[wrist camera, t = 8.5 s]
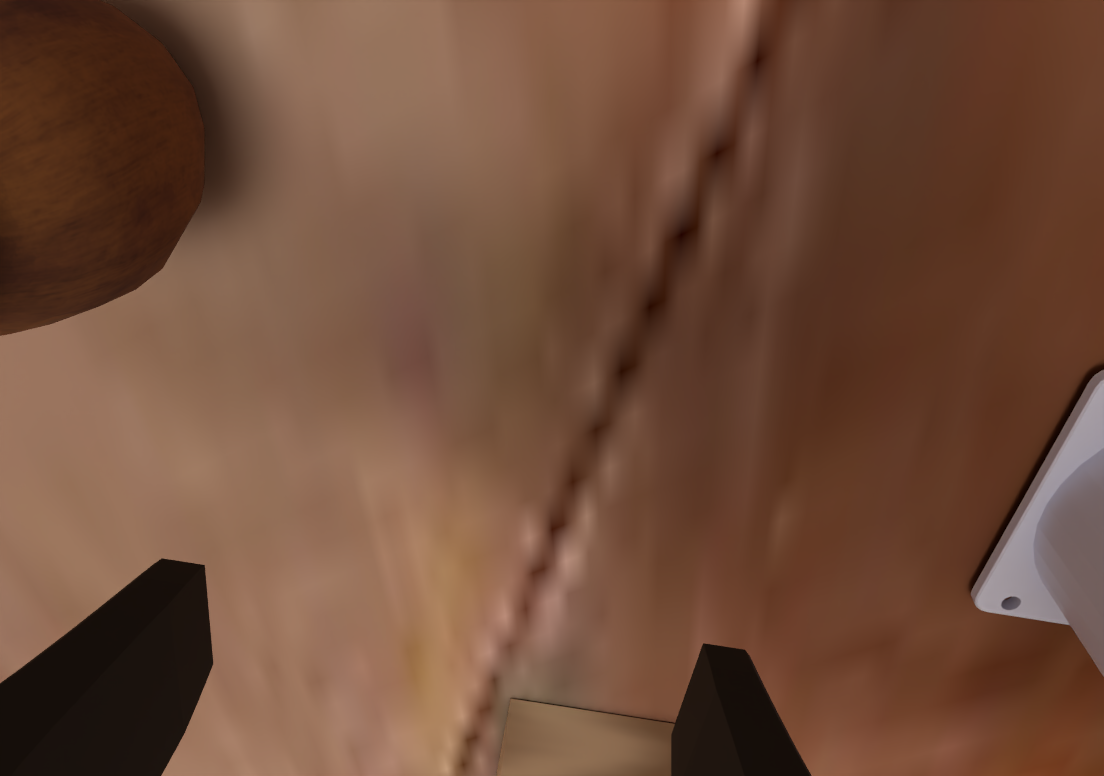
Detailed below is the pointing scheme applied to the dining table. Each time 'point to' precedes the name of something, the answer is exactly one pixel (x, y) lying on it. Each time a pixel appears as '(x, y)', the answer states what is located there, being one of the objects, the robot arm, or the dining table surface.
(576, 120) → the dining table surface
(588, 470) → the dining table surface
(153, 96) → the wooden figurine
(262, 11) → the dining table surface
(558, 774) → the base block
